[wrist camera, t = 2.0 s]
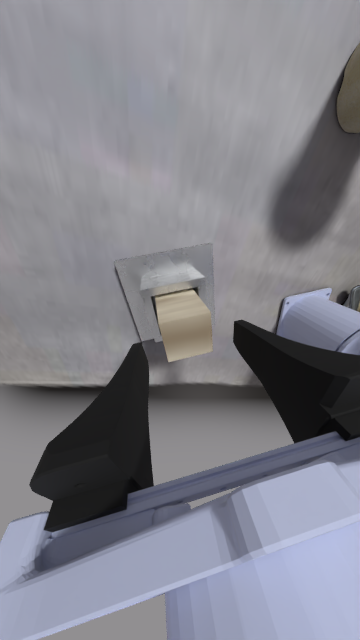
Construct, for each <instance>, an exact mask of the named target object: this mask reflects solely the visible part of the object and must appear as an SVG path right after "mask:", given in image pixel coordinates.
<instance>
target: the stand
mask: <svg viewBox="0 0 360 640" xmlns="http://www.w3.org/2000/svg"><path fill="white" fill-rule="evenodd" d="M114 264H115V266H116V269H117V272H118V275H119V278H120V281H121V283H122V286H123V289H124V292H125V295H126V298H127V301H128V303H129V306H130V309H131V312H132V315H133V318H134V320H135V323H136V326H137V329H138V332H139V335H140V338H141V340H142V341H145V340H150V339H154V340H155V343H156V342H160V341H163V339H162V335H161V332H160V328H159V324H158V316H157V308H156V300H155V295H160V294H165V293H170V292H174V291H179V290H184V289H189V288H193V290H194V291H195V292H196V294H197V295H198V296H199V298H200V299H201V300H202V301H203V303H204V304H205V305H206V307H207V308H208V309H209V311H210V312H211V325H215V306H214V276H213V246H212V243H207V244H201V245H196V246H190V247H185V248H180V249H174V250H169V251H163V252H158V253H152V254H147V255H142V256H136V257H131V258H125V259H120V260H115V261H114Z"/></svg>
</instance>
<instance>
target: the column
mask: <svg viewBox="0 0 360 640" xmlns="http://www.w3.org/2000/svg"><path fill="white" fill-rule="evenodd" d="M155 300H156V308H157V316H158V324H159V328H160V332H161V335H162V339H163V343H164V347H165V351H166V355H167V359H168V362H172V361H176V360H180V359H184V358H188V357H192V356H197V355H201V354H205V353H209V352H213V346H212V325H211V312H210V311H209V309H208V308H207V307H206V305H205V304H204V303H203V301H202V300H201V299H200V298H199V296H198V295H197V294H196V292H195V291H194V290H193V288H189V289H184V290H179V291H174V292H170V293H165V294H160V295H155Z"/></svg>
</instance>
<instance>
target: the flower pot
mask: <svg viewBox="0 0 360 640" xmlns="http://www.w3.org/2000/svg"><path fill="white" fill-rule="evenodd" d="M337 116H338V120H339V123H340V125H341V127H342V129H343V130H344V131H345V132H348V133H360V43H359V44H358V46H357V47H356V49H355V51H354V52H353V54H352V56H351V58H350V60H349V62H348V64H347V66H346V68H345V72H344V80H343V83H342V86H341V89H340V92H339V95H338V98H337Z"/></svg>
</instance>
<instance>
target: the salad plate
mask: <svg viewBox="0 0 360 640" xmlns="http://www.w3.org/2000/svg"><path fill="white" fill-rule="evenodd" d="M343 306H345V307H348V308H350V309H353V310H355V311H358V312H360V285H358V286H355V287H354V288H353V289H352V290H351V291H350V294H349V297H348V299H347V300H346V301H345V303H344V304H343Z"/></svg>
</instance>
